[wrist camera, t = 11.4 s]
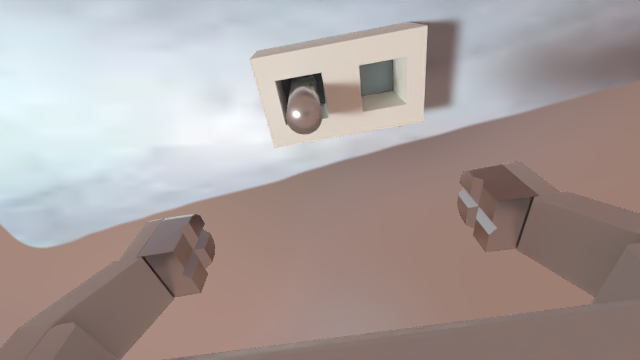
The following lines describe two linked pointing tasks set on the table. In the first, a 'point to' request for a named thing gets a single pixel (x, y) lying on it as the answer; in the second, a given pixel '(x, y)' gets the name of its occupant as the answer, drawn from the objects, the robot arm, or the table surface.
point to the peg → (304, 105)
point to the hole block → (346, 81)
